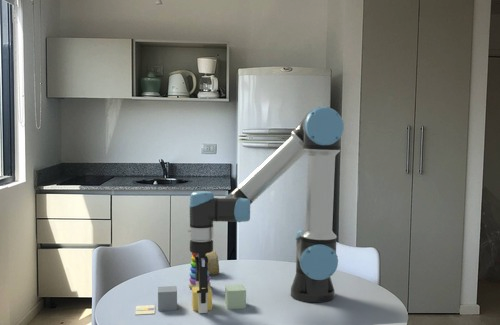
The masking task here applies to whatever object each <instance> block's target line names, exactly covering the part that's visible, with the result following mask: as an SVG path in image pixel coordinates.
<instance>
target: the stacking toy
mask: <svg viewBox="0 0 500 325" xmlns="http://www.w3.org/2000/svg"><path fill="white" fill-rule="evenodd" d="M191 255H192V256H191V262H190V269H189V270H190V272H189V279H188V280H189V283H188V286H189V288H190V289H191V290H192V287H196V277H195V275H196V265H195V257H196V253H192V252H191ZM207 278H208V286H210V287H211V282H210V281H211V278H210V275H209V272H208V271H207Z"/></svg>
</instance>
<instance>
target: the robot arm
mask: <svg viewBox="0 0 500 325" xmlns="http://www.w3.org/2000/svg"><path fill="white" fill-rule="evenodd" d="M344 127H345V126H344V120H343V117H342V116H341V114H339V112H338V111H336V110H335V109H334V108H331V107H329V106H318V107H315V108H313V109H312V110H310V111H309V112H307V113H306V114H305V116H304V118H302V119H301V121H300V122H299V123H298V124H297V126H296V127H295V128H294V129H293V130H292V131H291V134H290V137H288V138H287V140H285V142H283V143H282V144H281V145H280V146H279V147H278V148H277V149H276V150H275V151H274V152H273V153H272V154H271V155H269V156H268V157H267V158H266V159H265V160H264V161H263V162H262V163H261V164H260V165H259V166H258V167H256V169H255V170H254V171H253V172H252V173H250V174H249V175H248V176H247V177H246V178H245V179H244V180H242V182H240V184H239V185H238V186H237V187H236V188H235V189H233V190H232V191H231V192H229V193H228V194H227V195H226V196H225V197H221V198H219V197H215V196H214V193H213V192H212V191H209V190H208V191H206V190H203V191H202V190H200V191H199V190H198V191H193V192H192V193H191V194H190V195H189V196H190V198H189V229H188V230H187V233H189V239H190V240H189V251H190V253H191V254H192V253H196V257H195V265H196V275H195V277H196V287H199V291H197V293H199V311H198V314H207V313H208V310H207V292H208V278H207V271H208V258H207V256H206V253H211V252H212V251H214V240H213V239H214V222H228V223H229V222H230V223H231V222H232V223H233V222H234V223H235V222H236V223H241V222H243V223H244V222H249V221H250V220H251V205H252V204H253V202H255V201H256V200H257V199H258V198H259V197H260V196H261V195H262V194H263V193H265V191H266V190H268V189H269V188H270V187H271V186H272V185H273V184H274V183H275V182H276V181H277V180H278V179H279V178H280V177H281V176H283V174H284V173H286V172H287V171H288V170H289V169H290V168H291V167H292V166H293V165H294V164H296V163H297V162H298V161H299V160H300V159H301V158H302V157H303V156H304V155H305V154H307V167H306V168H307V169H306V170H307V171H306V173H307V174H306V194H305V195H306V197H305V200H306V201H305V222H304V226H305V227H304V229H300V230H298V231H297V232H296V237H295V240H296V241H295V242H296V244H295V245H296V249H295V250H296V252H295V253H296V255H295V257H296V258H295V259H296V260H295V261H296V262H295V275H294V279H293V281H292V285H291V287H290V296H291V297H292V298H293V299H295V300H298V301H301V302H305V303H306V302H307V303H323V302H324V303H325V302H329V301H332V300H333V299H335V287H334V285H333V281H332V278H331V277H332V276H333V275H334V274H335V272H336V271H337V269H338V266H339V259H338V254H337V240H338V236H337V234H336V233H334V231H333V219H334V218H333V216H334V199H335V198H334V197H335V196H334V194H335V192H334V191H335V170H336V169H335V168H336V156H337V155H338V154H339V153H340V152H341V144H342V143H341V142H342V136H343V133H344V129H345V128H344ZM202 288H205V289H202Z"/></svg>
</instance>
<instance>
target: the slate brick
mask: <svg viewBox="0 0 500 325" xmlns="http://www.w3.org/2000/svg"><path fill="white" fill-rule="evenodd" d="M158 310H161V311H175V310H176V311H177V310H178V289H177V285H172V286H171V285H169V286H165V285H164V286H157V311H158Z"/></svg>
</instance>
